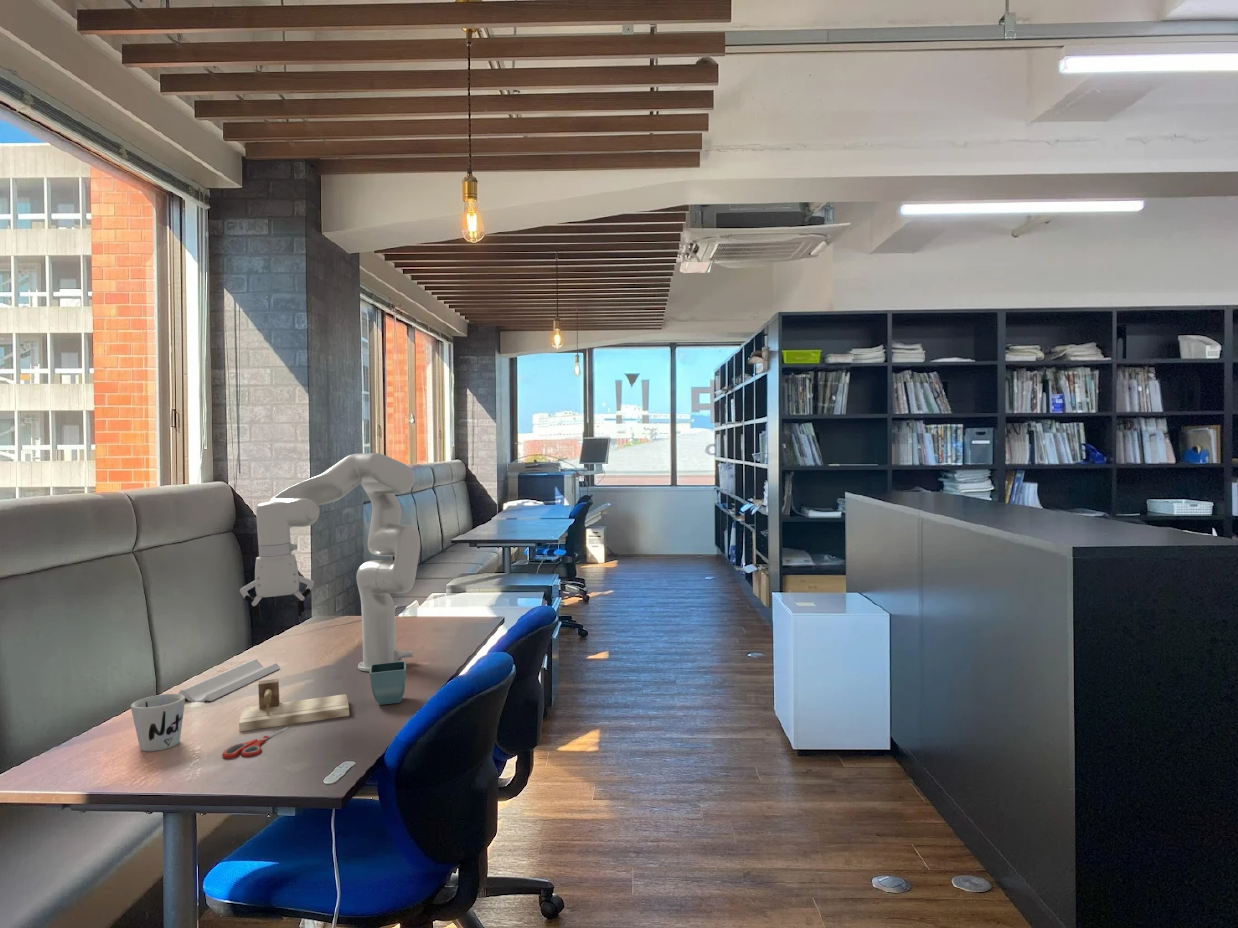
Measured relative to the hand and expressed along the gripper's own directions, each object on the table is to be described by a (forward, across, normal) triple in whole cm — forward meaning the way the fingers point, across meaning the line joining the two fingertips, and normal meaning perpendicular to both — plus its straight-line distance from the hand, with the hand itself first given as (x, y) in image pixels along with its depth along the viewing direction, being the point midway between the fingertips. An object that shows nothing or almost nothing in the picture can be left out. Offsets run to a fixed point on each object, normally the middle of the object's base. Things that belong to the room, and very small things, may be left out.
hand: (279, 617), depth 201 cm
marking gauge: (+22, +4, +10) cm, 24 cm away
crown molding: (+24, +15, -28) cm, 40 cm away
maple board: (+22, -2, +11) cm, 25 cm away
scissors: (+22, +5, +26) cm, 34 cm away
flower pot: (+23, -24, +10) cm, 35 cm away
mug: (+21, +27, +17) cm, 38 cm away
